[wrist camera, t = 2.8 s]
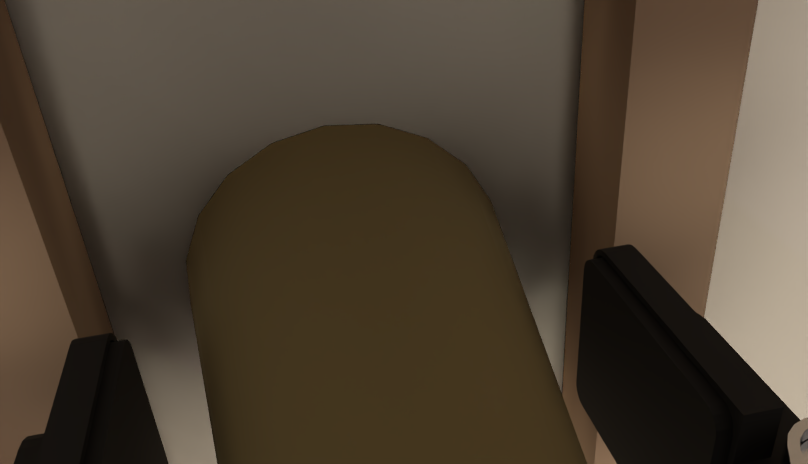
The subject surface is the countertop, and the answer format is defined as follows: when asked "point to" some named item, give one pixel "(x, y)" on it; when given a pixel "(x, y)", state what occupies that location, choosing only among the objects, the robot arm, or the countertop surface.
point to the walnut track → (592, 202)
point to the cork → (367, 312)
